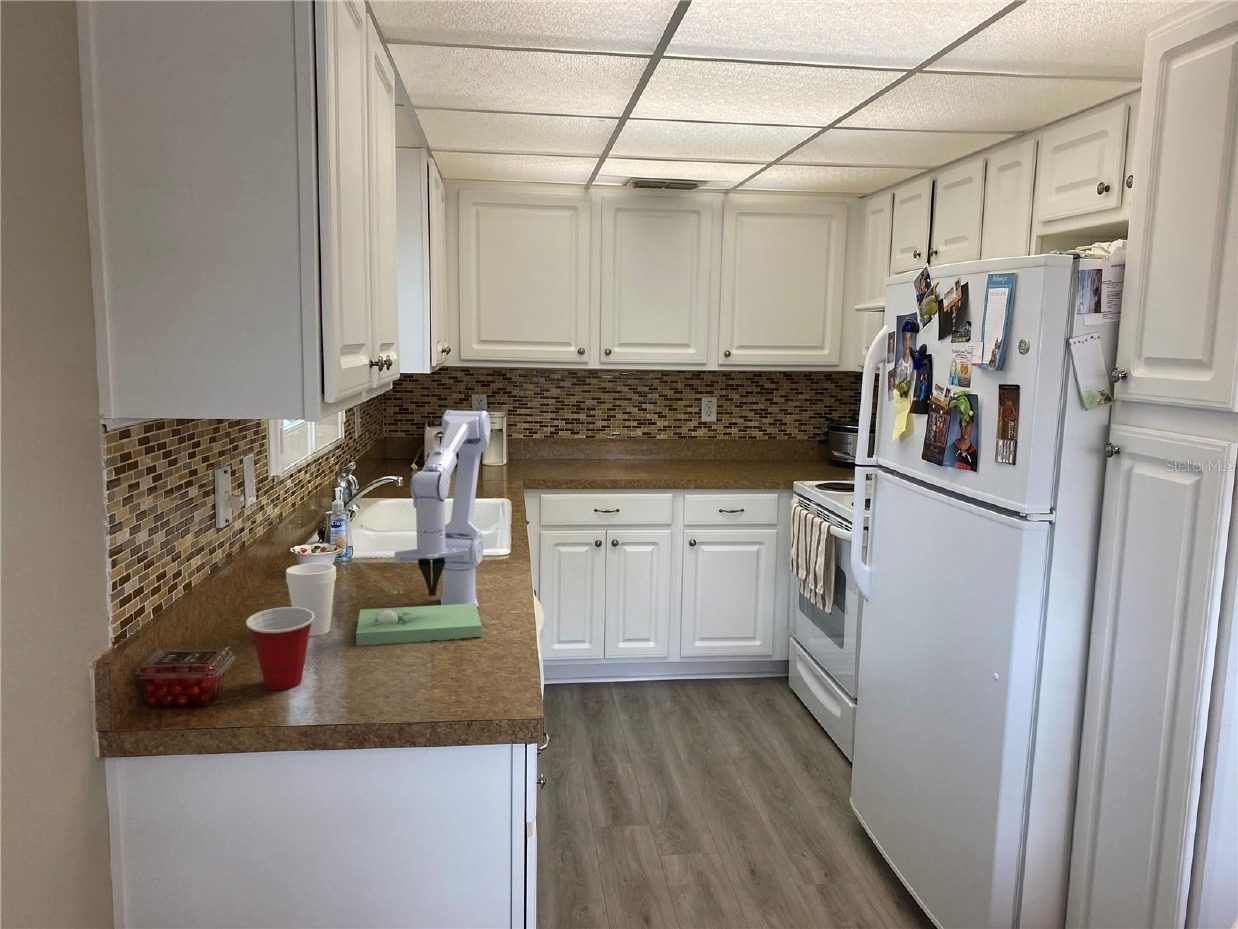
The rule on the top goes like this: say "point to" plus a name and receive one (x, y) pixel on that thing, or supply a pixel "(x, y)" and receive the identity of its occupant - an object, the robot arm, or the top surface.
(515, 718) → the top surface
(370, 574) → the top surface
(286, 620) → the plastic cup
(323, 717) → the top surface
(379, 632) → the putting mat
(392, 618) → the ball
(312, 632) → the foam cup
